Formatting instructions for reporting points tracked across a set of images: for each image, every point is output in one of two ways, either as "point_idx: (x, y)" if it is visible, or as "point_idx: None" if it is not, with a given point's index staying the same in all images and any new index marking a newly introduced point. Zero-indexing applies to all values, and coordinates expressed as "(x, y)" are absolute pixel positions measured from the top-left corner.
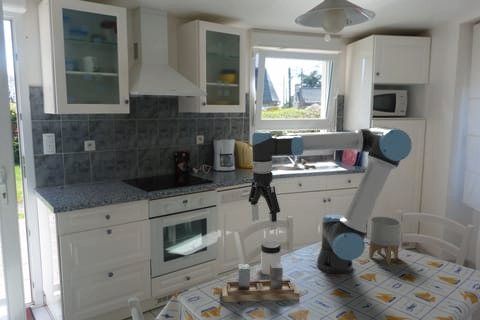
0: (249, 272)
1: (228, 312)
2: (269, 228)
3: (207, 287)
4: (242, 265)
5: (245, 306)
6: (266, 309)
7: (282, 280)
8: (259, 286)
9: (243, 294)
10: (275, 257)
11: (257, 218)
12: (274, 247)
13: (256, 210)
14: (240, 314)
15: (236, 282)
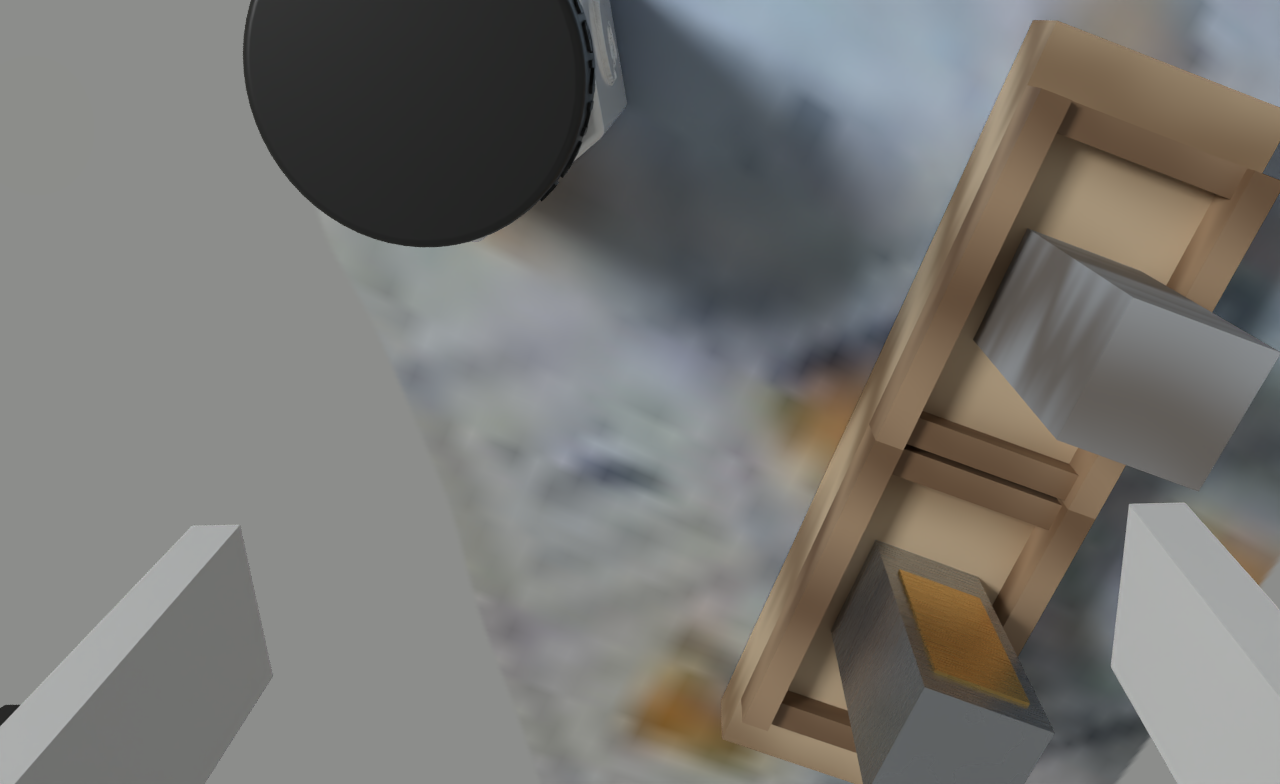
0: (1037, 706)
1: (1071, 776)
2: (1122, 685)
3: (601, 778)
4: (923, 767)
5: (1064, 630)
6: (1211, 496)
7: (1021, 192)
8: (980, 478)
9: None
10: (599, 63)
11: (229, 577)
12: (573, 91)
13: (113, 760)
14: None
15: (804, 654)
